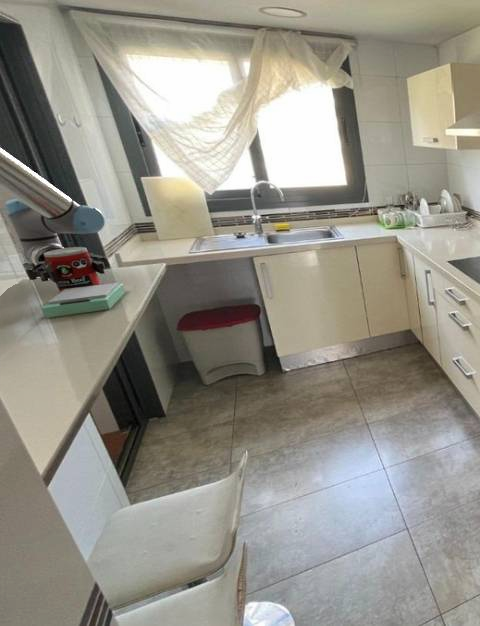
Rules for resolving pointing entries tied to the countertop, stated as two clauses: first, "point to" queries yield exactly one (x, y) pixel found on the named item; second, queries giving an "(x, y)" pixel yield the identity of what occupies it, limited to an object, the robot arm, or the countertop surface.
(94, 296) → the scale
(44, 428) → the countertop surface
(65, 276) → the canned food
